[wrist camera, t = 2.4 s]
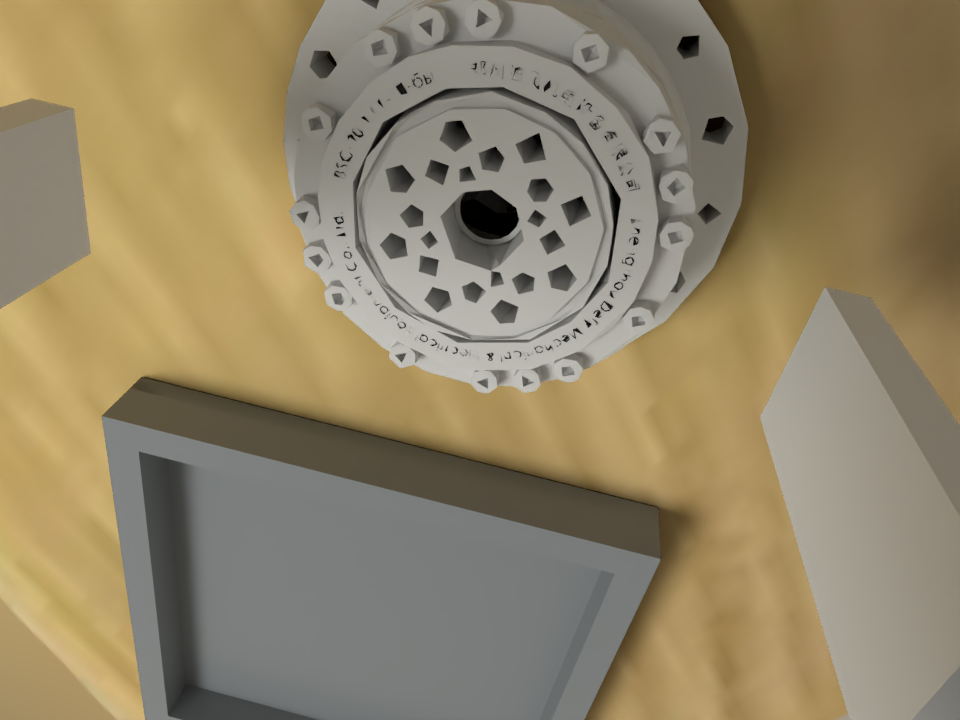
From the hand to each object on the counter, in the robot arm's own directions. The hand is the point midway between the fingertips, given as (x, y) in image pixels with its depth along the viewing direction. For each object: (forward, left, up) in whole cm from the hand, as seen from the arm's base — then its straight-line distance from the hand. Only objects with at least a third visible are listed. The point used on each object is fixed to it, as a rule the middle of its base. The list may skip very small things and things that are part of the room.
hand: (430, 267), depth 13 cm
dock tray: (+16, -1, -5) cm, 17 cm away
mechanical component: (-1, +1, -5) cm, 5 cm away
